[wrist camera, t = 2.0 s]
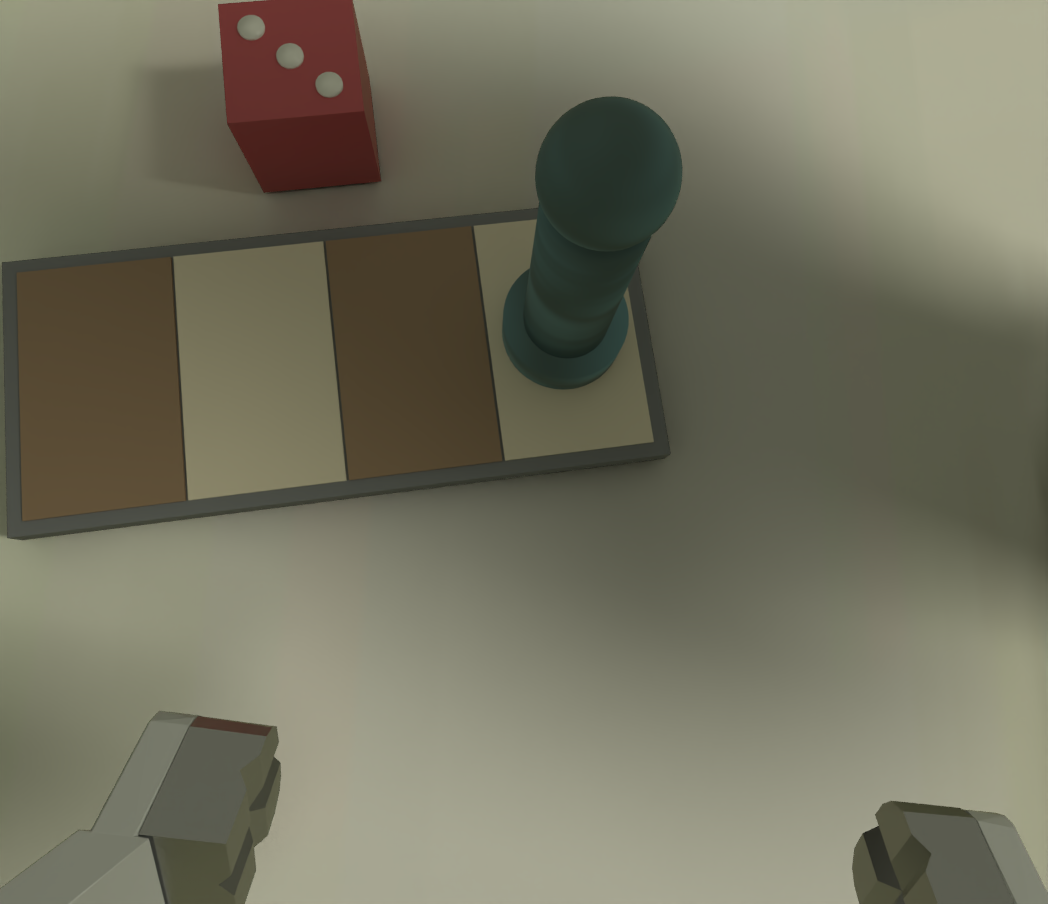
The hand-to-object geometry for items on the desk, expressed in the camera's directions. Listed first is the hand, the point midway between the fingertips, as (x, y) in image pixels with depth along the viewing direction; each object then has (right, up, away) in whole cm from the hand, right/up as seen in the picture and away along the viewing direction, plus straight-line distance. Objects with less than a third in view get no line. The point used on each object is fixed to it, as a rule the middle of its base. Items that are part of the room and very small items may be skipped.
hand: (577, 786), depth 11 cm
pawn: (+1, +9, +18) cm, 21 cm away
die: (-9, +17, +20) cm, 28 cm away
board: (-8, +8, +19) cm, 22 cm away
